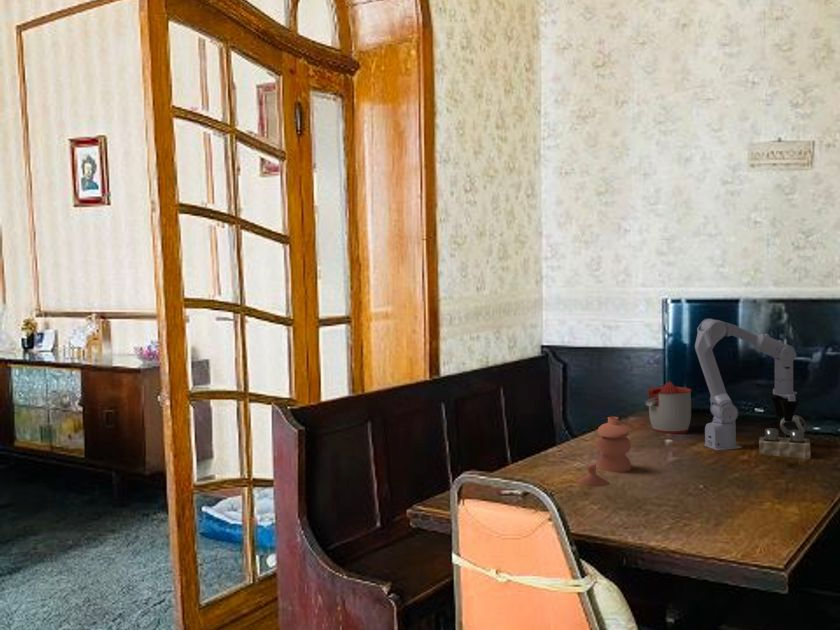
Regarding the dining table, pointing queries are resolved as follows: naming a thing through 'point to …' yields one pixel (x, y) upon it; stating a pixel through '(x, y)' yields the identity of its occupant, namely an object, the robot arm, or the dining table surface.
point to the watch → (799, 423)
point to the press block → (785, 448)
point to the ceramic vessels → (609, 452)
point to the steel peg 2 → (796, 436)
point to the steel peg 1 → (771, 434)
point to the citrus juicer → (669, 408)
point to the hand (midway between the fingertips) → (783, 418)
